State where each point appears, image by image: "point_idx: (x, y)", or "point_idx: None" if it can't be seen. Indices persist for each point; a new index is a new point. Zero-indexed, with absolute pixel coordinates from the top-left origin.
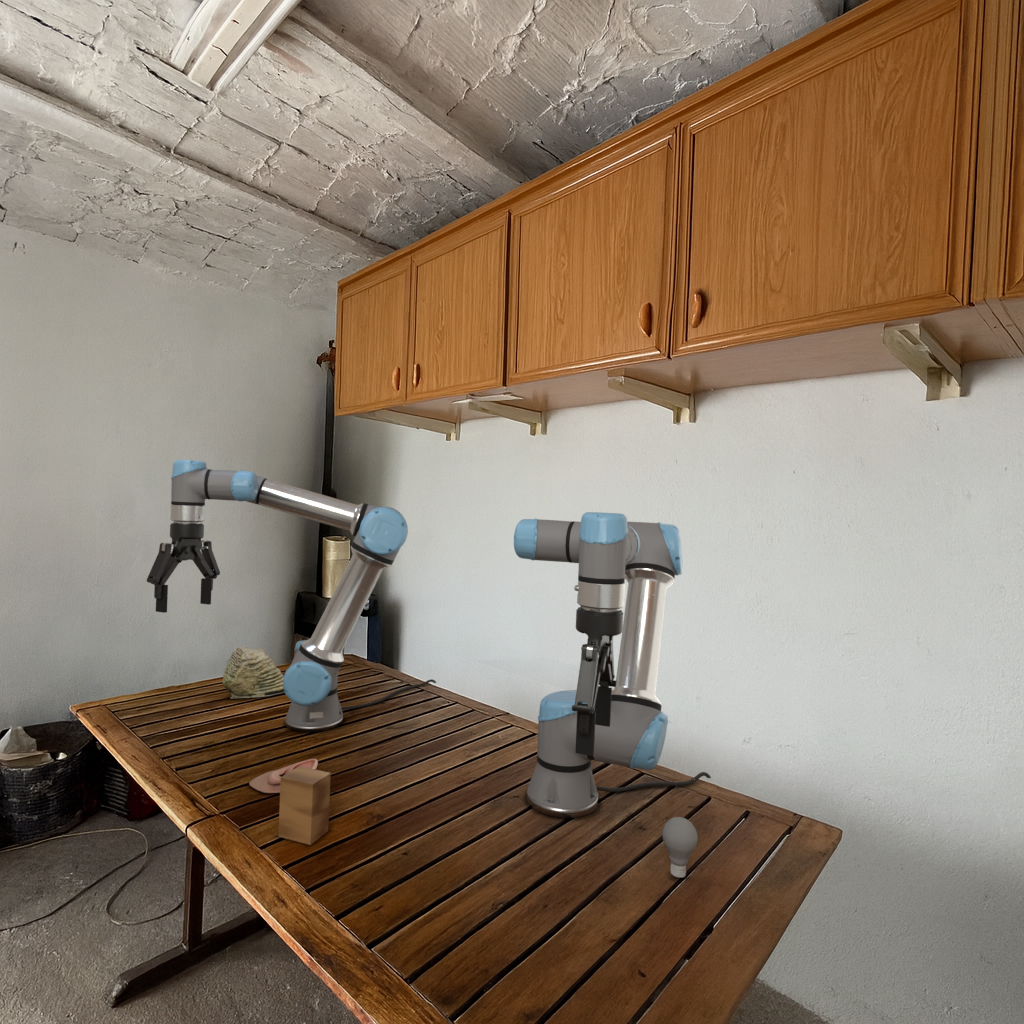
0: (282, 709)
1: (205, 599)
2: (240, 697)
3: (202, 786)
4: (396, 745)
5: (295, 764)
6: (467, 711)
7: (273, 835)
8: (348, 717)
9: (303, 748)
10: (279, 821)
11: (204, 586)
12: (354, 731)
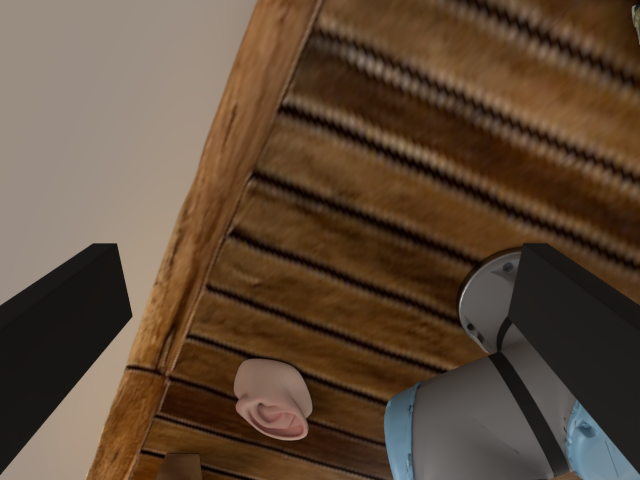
0: (575, 192)
1: (533, 308)
2: (638, 36)
3: (209, 309)
4: None
5: (288, 412)
6: None
7: (166, 448)
8: None
9: (390, 347)
10: (159, 470)
11: (620, 371)
12: None
